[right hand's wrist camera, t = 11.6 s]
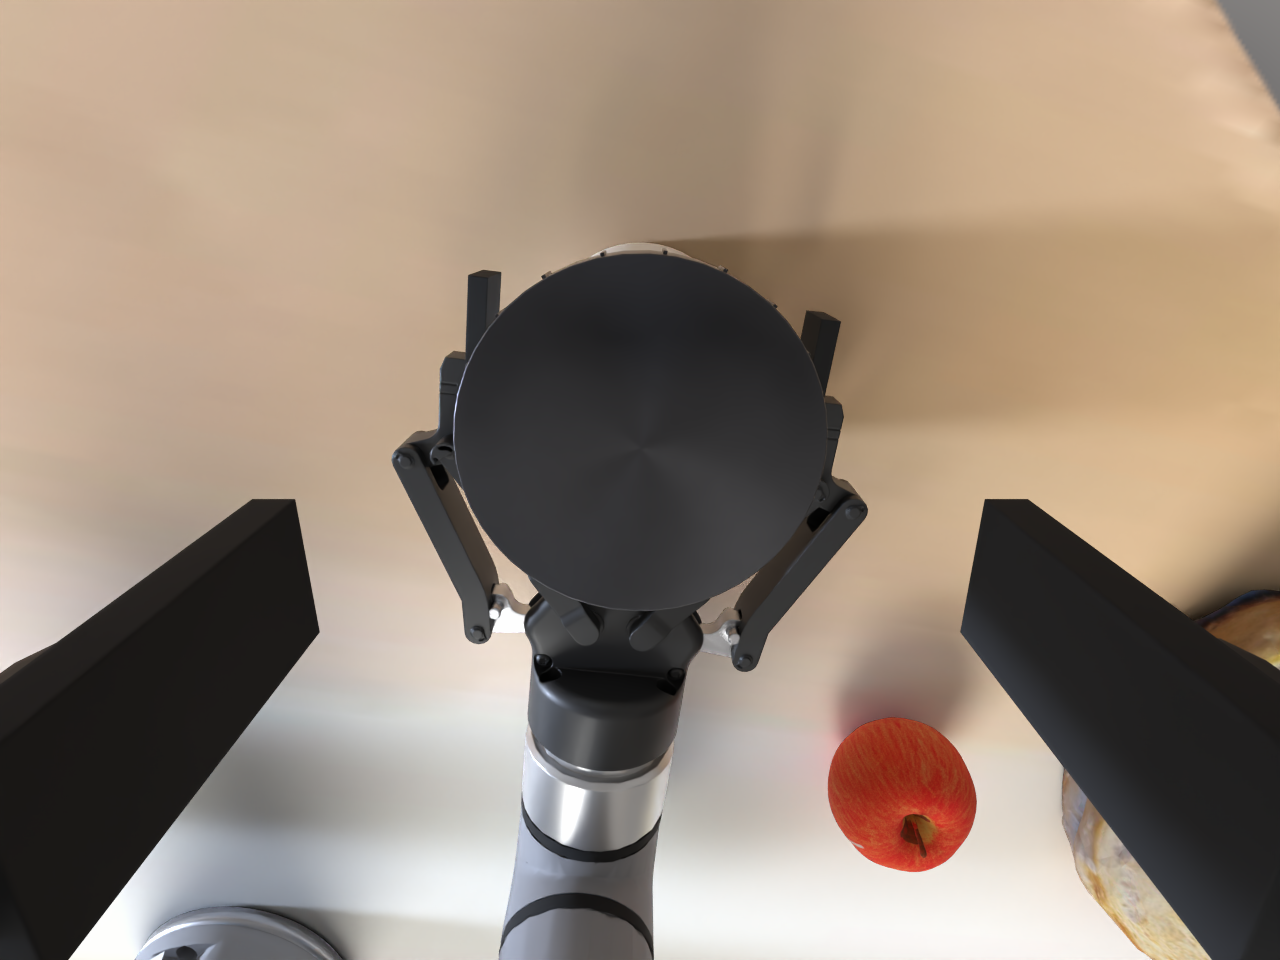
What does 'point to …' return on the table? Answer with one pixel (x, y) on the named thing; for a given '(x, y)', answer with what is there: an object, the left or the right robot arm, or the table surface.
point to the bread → (1102, 861)
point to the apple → (901, 794)
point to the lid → (640, 431)
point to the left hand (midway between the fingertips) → (656, 293)
